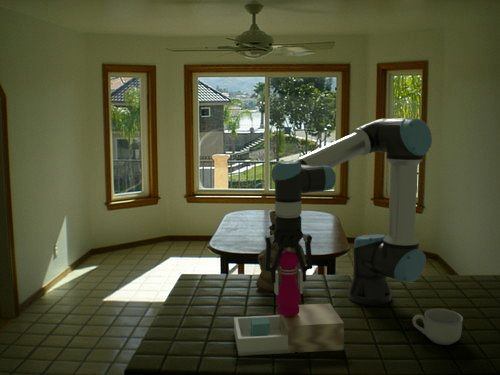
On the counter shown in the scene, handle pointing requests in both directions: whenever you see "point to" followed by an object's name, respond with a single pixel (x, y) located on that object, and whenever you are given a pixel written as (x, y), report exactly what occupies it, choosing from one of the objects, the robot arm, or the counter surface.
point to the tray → (259, 337)
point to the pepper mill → (288, 284)
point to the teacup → (441, 325)
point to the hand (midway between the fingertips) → (288, 292)
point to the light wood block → (313, 329)
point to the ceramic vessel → (265, 276)
